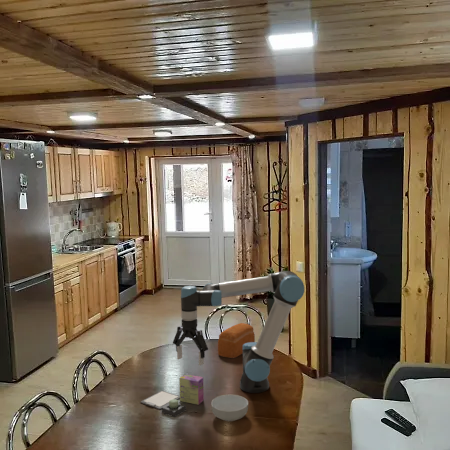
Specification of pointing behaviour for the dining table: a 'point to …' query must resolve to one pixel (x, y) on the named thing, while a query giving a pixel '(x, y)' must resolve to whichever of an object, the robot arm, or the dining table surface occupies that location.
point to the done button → (173, 403)
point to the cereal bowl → (229, 407)
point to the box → (191, 389)
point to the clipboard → (160, 399)
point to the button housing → (174, 413)
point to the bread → (235, 340)
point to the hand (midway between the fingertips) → (190, 361)
